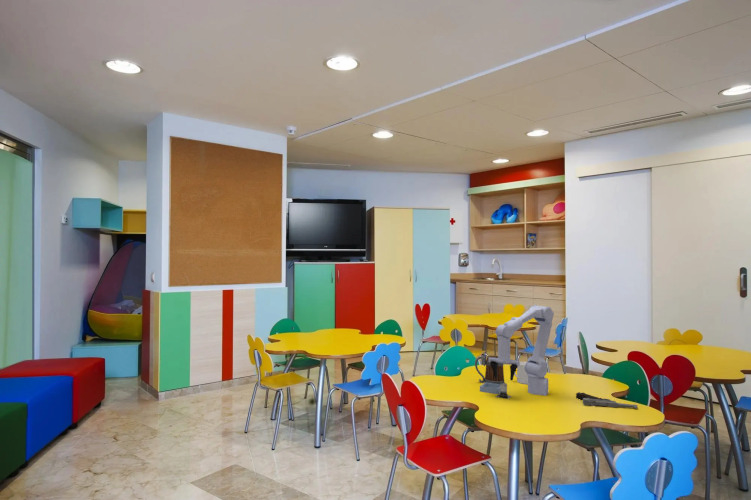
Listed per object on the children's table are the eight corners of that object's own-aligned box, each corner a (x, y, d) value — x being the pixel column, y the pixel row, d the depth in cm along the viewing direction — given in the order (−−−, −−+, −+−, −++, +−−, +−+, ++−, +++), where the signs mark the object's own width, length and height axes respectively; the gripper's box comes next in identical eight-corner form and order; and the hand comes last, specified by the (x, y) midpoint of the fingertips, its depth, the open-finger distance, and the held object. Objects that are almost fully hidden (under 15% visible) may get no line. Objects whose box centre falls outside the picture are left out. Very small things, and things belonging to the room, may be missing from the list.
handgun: (628, 402, 220) (638, 411, 205) (575, 397, 225) (581, 406, 211) (628, 395, 220) (638, 404, 205) (575, 390, 225) (581, 398, 211)
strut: (508, 396, 220) (508, 383, 220) (506, 398, 217) (506, 385, 217) (500, 395, 222) (500, 382, 222) (498, 396, 219) (498, 384, 219)
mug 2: (533, 380, 257) (533, 362, 257) (538, 385, 247) (538, 365, 247) (510, 379, 257) (510, 361, 258) (515, 384, 247) (515, 365, 248)
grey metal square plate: (511, 398, 220) (511, 396, 220) (508, 401, 215) (508, 399, 215) (499, 396, 223) (499, 394, 223) (495, 399, 218) (495, 396, 218)
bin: (503, 392, 231) (503, 385, 231) (498, 396, 223) (498, 389, 223) (485, 389, 236) (485, 382, 236) (479, 393, 228) (479, 386, 228)
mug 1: (502, 382, 250) (502, 355, 250) (506, 387, 239) (506, 359, 240) (473, 381, 251) (474, 354, 252) (475, 386, 241) (476, 357, 241)
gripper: (486, 349, 220) (486, 378, 220) (517, 353, 213) (516, 382, 212) (491, 347, 226) (490, 375, 226) (521, 351, 219) (520, 379, 218)
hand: (503, 378), depth 219 cm, fingers open, 7 cm apart
